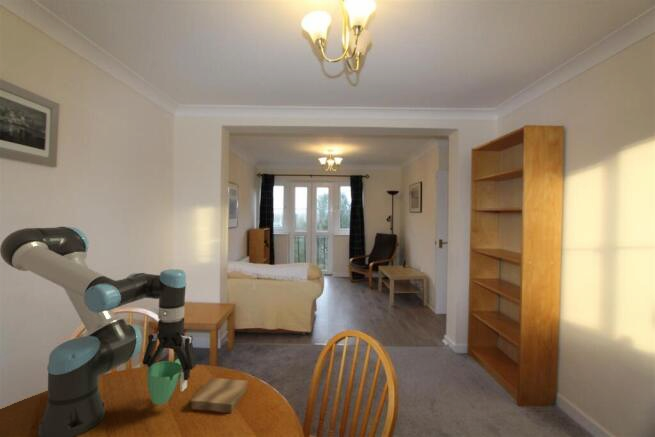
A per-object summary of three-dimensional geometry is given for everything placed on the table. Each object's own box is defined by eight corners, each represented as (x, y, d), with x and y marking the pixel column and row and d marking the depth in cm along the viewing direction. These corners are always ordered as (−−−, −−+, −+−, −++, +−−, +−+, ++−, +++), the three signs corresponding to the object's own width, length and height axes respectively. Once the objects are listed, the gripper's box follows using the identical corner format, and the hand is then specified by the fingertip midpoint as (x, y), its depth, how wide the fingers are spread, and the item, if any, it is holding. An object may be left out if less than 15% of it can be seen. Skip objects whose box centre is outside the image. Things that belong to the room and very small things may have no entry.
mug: (165, 412, 93) (169, 380, 93) (135, 405, 94) (139, 373, 94) (192, 386, 107) (196, 358, 107) (165, 380, 109) (169, 352, 108)
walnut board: (189, 409, 100) (190, 400, 100) (210, 385, 114) (211, 377, 114) (231, 413, 98) (232, 404, 98) (247, 389, 112) (248, 380, 112)
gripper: (130, 319, 98) (128, 390, 98) (198, 325, 95) (194, 398, 96) (147, 312, 105) (144, 377, 105) (210, 317, 103) (206, 384, 103)
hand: (168, 387), depth 101 cm, fingers closed on mug, 10 cm apart
